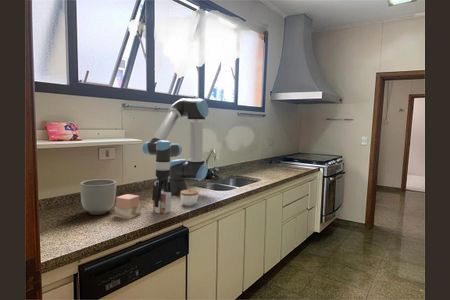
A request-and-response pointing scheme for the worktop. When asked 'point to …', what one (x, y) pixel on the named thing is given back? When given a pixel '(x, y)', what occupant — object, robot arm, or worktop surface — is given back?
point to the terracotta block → (127, 201)
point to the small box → (164, 202)
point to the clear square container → (127, 212)
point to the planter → (98, 195)
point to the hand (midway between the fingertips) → (161, 210)
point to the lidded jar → (189, 197)
